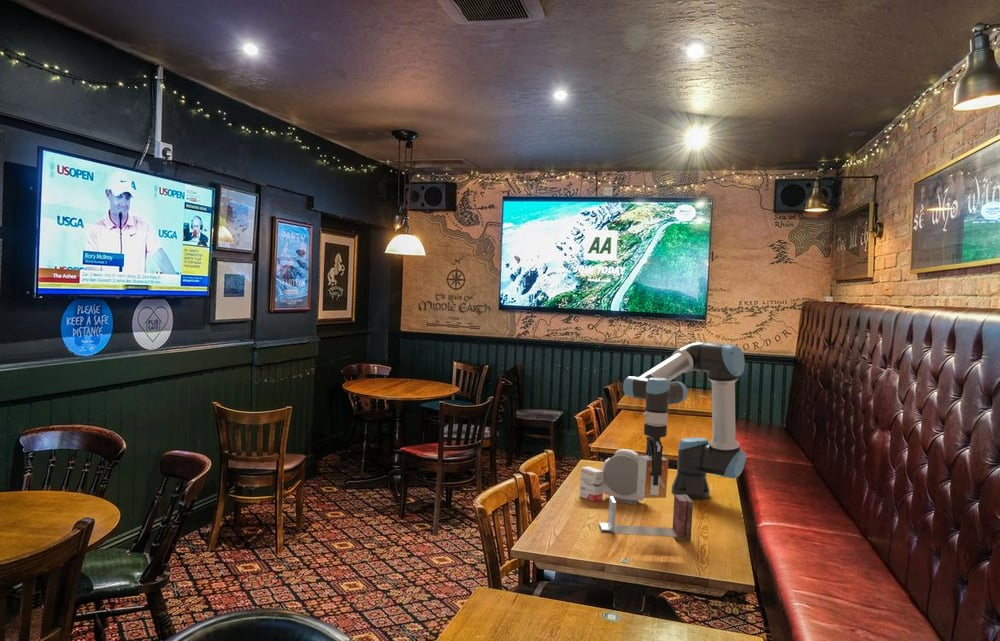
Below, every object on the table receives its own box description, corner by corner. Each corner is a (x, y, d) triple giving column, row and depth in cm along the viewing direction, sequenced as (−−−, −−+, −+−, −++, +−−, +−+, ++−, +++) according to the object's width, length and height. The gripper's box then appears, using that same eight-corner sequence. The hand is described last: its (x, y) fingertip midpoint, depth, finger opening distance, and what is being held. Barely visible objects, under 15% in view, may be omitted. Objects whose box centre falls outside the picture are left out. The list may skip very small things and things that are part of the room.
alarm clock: (648, 501, 257) (651, 451, 256) (643, 508, 249) (646, 456, 248) (604, 493, 265) (607, 444, 264) (598, 499, 257) (601, 449, 256)
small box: (644, 498, 216) (646, 460, 216) (636, 492, 223) (638, 455, 222) (666, 498, 218) (668, 459, 218) (658, 492, 224) (660, 454, 224)
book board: (684, 532, 225) (686, 494, 224) (690, 541, 217) (693, 502, 216) (597, 528, 225) (599, 490, 225) (600, 537, 217) (602, 497, 217)
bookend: (611, 524, 225) (613, 496, 224) (614, 532, 218) (616, 502, 217) (599, 523, 225) (600, 495, 224) (602, 531, 218) (603, 502, 217)
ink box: (603, 500, 257) (604, 470, 256) (594, 502, 254) (595, 472, 253) (587, 494, 263) (588, 465, 263) (578, 496, 260) (580, 467, 260)
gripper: (638, 417, 229) (635, 481, 230) (650, 429, 209) (646, 499, 210) (660, 418, 229) (656, 482, 230) (674, 430, 209) (669, 500, 210)
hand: (651, 490), depth 220 cm, fingers closed on small box, 7 cm apart
